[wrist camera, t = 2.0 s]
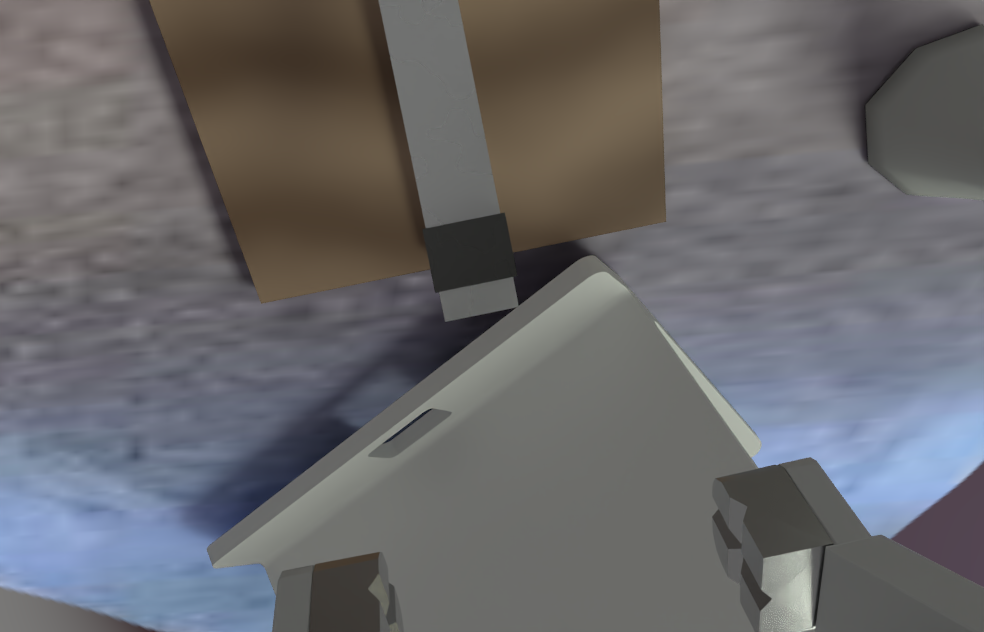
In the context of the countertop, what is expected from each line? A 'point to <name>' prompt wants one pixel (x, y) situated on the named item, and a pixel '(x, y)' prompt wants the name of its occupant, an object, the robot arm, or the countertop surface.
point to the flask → (932, 120)
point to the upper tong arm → (450, 158)
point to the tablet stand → (532, 480)
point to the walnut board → (382, 137)
